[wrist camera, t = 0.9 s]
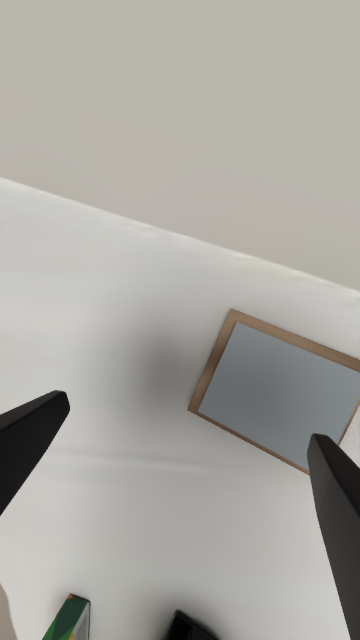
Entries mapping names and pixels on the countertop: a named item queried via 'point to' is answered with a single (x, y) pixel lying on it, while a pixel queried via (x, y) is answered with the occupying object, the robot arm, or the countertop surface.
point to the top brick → (279, 393)
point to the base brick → (279, 334)
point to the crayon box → (70, 621)
